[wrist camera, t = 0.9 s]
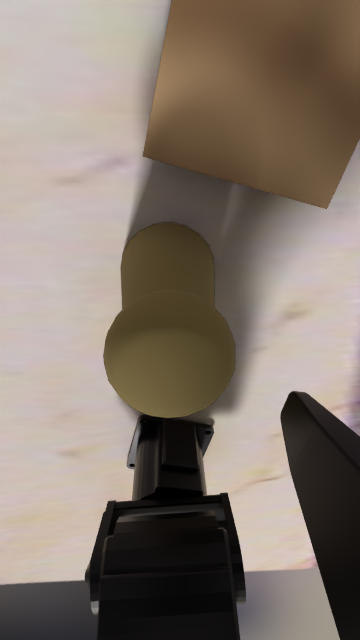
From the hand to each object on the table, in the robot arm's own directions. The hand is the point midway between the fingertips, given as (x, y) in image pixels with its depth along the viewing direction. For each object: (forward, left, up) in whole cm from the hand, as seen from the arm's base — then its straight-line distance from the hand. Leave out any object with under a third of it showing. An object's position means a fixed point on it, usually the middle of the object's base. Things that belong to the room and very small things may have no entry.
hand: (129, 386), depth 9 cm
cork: (-1, -2, -13) cm, 13 cm away
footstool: (+9, -4, -13) cm, 17 cm away
